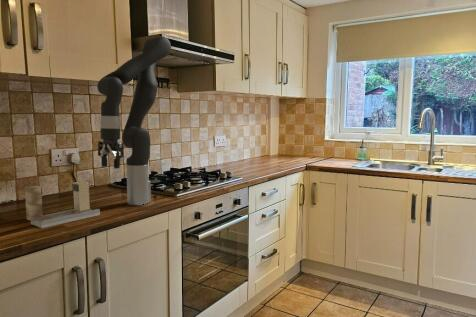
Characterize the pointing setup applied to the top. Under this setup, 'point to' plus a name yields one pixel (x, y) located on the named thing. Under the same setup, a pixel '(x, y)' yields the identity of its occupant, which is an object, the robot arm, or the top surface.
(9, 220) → the top surface
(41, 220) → the rail
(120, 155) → the robot arm
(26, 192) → the beige tall rectangular block
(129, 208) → the top surface
